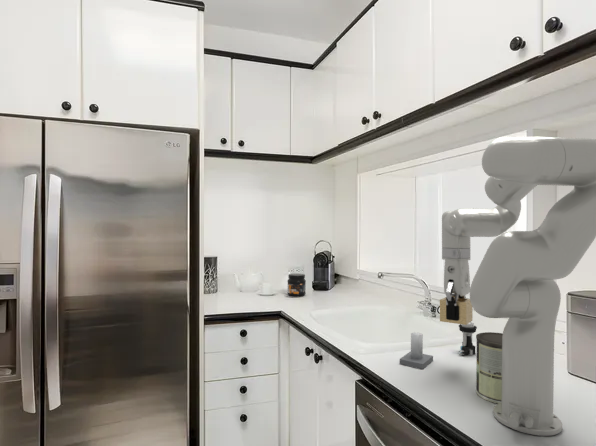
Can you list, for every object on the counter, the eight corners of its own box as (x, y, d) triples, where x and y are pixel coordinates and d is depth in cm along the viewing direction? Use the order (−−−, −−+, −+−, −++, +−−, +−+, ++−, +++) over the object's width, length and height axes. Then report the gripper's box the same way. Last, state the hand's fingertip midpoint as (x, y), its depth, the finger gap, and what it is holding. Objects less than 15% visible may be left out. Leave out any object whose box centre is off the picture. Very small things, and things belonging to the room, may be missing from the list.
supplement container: (283, 295, 223) (284, 274, 223) (293, 293, 232) (293, 272, 232) (300, 297, 218) (300, 276, 218) (308, 294, 227) (309, 274, 227)
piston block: (422, 369, 112) (423, 339, 112) (399, 364, 116) (399, 335, 116) (433, 360, 119) (433, 332, 119) (410, 355, 123) (410, 328, 123)
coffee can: (468, 386, 100) (468, 331, 100) (507, 386, 101) (508, 332, 101) (488, 405, 90) (489, 344, 90) (532, 405, 90) (533, 344, 90)
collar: (466, 324, 106) (466, 302, 106) (439, 321, 110) (439, 299, 110) (472, 320, 111) (472, 299, 111) (447, 317, 115) (447, 296, 116)
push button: (466, 358, 121) (467, 326, 121) (452, 353, 126) (452, 322, 126) (480, 355, 125) (480, 323, 125) (465, 350, 129) (465, 320, 129)
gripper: (461, 256, 102) (462, 325, 101) (477, 253, 116) (477, 314, 115) (432, 255, 106) (433, 321, 106) (451, 252, 120) (451, 311, 120)
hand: (456, 317), depth 111 cm, fingers closed on collar, 7 cm apart
